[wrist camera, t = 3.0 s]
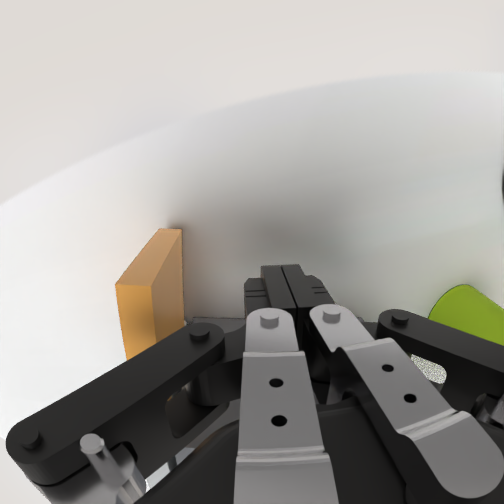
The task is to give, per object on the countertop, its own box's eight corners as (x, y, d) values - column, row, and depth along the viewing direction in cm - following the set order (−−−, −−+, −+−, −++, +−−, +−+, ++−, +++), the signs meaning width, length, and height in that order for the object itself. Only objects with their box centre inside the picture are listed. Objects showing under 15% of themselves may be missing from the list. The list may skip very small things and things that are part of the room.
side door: (197, 456, 23) (194, 547, 14) (184, 455, 23) (177, 546, 14) (184, 224, 17) (139, 309, 8) (163, 224, 17) (98, 306, 8)
